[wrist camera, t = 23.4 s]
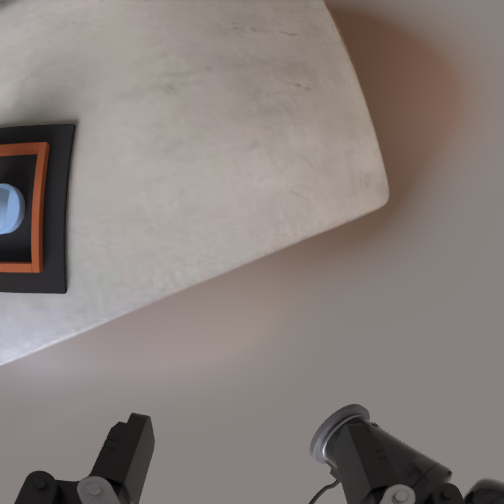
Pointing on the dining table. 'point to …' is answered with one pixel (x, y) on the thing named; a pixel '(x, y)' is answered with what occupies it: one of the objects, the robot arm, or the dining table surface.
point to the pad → (36, 207)
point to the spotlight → (10, 208)
